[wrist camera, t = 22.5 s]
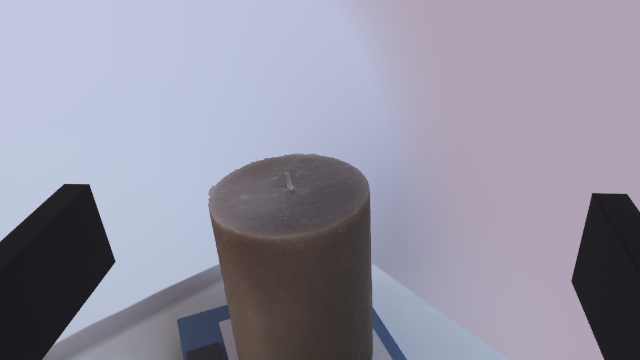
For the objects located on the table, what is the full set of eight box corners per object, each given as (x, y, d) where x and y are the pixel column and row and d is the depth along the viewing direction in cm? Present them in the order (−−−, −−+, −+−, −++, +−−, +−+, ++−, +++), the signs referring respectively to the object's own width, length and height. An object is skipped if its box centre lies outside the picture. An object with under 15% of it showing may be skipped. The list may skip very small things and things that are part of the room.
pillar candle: (379, 406, 33) (380, 212, 25) (228, 413, 33) (185, 222, 25) (366, 300, 41) (364, 130, 34) (246, 305, 41) (217, 138, 34)
